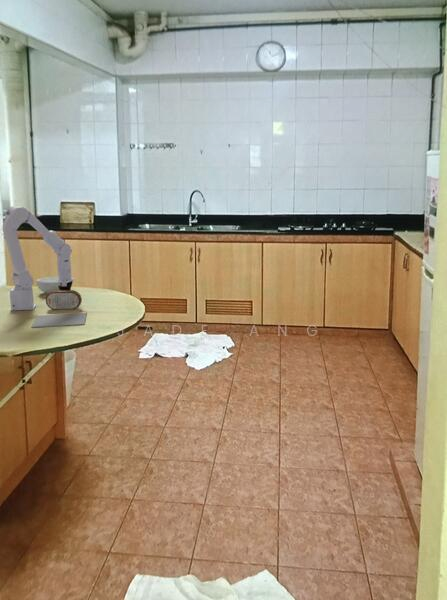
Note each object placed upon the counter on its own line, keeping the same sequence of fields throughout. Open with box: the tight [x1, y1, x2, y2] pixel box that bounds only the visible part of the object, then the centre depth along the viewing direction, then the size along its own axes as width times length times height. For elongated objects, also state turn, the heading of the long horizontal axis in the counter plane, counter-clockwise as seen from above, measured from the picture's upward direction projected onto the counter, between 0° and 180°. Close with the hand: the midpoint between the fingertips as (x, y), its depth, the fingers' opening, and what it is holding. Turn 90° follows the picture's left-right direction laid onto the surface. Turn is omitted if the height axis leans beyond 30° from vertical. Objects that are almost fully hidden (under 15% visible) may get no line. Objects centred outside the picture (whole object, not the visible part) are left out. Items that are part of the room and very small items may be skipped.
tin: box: [45, 289, 83, 311], centre depth 259 cm, size 15×3×8 cm, turn 92°
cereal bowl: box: [36, 276, 73, 295], centre depth 293 cm, size 17×17×7 cm
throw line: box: [44, 311, 88, 315], centre depth 251 cm, size 20×1×1 cm, turn 100°
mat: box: [30, 312, 88, 329], centre depth 241 cm, size 20×18×1 cm
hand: (66, 298), depth 274 cm, fingers open, 7 cm apart
